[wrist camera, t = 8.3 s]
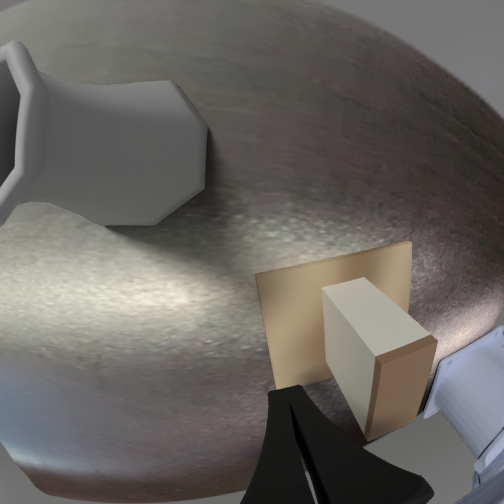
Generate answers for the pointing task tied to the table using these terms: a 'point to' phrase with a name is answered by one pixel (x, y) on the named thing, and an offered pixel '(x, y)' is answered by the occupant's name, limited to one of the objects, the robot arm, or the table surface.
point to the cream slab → (376, 355)
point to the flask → (96, 145)
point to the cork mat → (321, 306)
